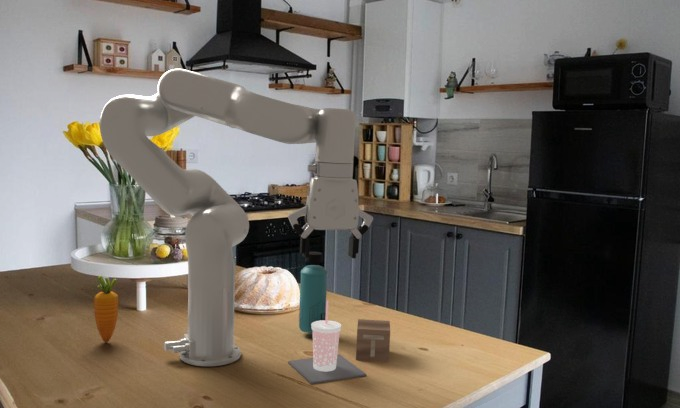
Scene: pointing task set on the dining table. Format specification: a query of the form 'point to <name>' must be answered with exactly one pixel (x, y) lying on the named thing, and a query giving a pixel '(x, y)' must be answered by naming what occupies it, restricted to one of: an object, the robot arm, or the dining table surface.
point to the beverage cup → (325, 343)
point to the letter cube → (373, 340)
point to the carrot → (106, 309)
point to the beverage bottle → (312, 293)
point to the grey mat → (314, 376)
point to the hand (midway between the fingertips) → (328, 257)
